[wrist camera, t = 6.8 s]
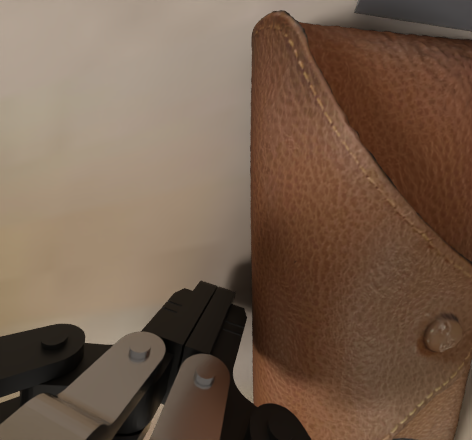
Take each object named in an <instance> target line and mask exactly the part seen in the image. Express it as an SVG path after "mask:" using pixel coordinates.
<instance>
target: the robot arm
mask: <svg viewBox="0 0 472 440" xmlns="http://www.w3.org/2000/svg"><path fill="white" fill-rule="evenodd" d="M234 297H235V292H234V291H231V290H228V289H225V288H222V287H218V286H216V285H213V284H210V283H206V282H203V281H200V282H199V284H198V285H197V286H196V288H195V289H194V290H193V291H191V290H188V289H185V288H184V289H182V290H180V291H178V292H176V293H174V294H173V295H172V296H171V298H170V299H169V300H168V302H166V303H165V304H164V306H163V307H162V308H161V309H160V310H159V311H158V313H157V314H156V315H155V316H154V317H153V318H152V319H151V321H150V322H149V323H148V324H147V325H146V326H145V327H144V329H143V330H142V331H141V332H134V333H130V334H128V335H126V336H124V337H122V338H121V339H120V340H118V341H117V342H116V343H115V344H114V345H103V344H91V343H85V334H84V332H83V330H82V329H81V328H79V327H77V326H75V325H71V324H55V325H50V326H46V327H41V328H37V329H33V330H28V331H24V332H19V333H15V334H10V335H6V336H2V337H0V397H3V396H6V395H9V394H12V393H15V392H18V391H20V396H19V397H16V398H14V399H11V400H8V401H5V402H2V403H0V440H143V438H144V437H145V435H146V433H147V432H148V430H149V428H150V425H151V420H152V418H153V417H154V415H155V413H156V411H157V409H158V407H159V405H160V404H164V407H163V409H162V412H161V414H160V416H159V419H158V421H157V424H156V426H155V428H154V431H153V433H152V435H151V437H150V439H149V440H312V439H311V438H310V436H309V435H308V433H307V431H306V430H305V428H304V427H303V425H302V424H301V422H300V421H299V419H298V418H297V417H296V416H295V415H294V414H293V413H292V412H291V411H290V410H288V409H287V408H285V407H283V406H281V405H278V404H274V403H266V404H262V405H260V406H259V407H257V406H255V405H254V404H253V403H251V402H250V401H249V400H248V399H246V398H245V397H244V396H243V395H242V394H241V393H240V391H239V390H238V388H237V387H236V385H235V382H234V379H233V367H234V364H235V360H236V356H237V353H238V349H239V345H240V342H241V338H242V334H243V331H244V327H245V323H246V319H247V316H246V313H245V310H244V308H242V307H239V306H236V305H233V300H234Z"/></svg>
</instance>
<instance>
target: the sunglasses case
mask: <svg viewBox="0 0 472 440" xmlns="http://www.w3.org/2000/svg"><path fill="white" fill-rule="evenodd" d="M251 83H252V88H251V146H250V151H251V161H250V162H251V168H250V173H251V253H252V255H251V261H252V336H253V396H254V398H253V400H254V405H255V406H257V407H259V406H260V405H262V404H266V403H274V404H278V405H281V406H283V407H285V408H287V409H288V410H290V411H291V412H292V413H293V414H294V415H295V416H296V417H297V418H298V419H299V421H300V422H301V424H302V425H303V427H304V428H305V430H306V431H307V433H308V435H309V436H310V438H311V439H312V440H453V439H454V436H455V432H456V428H457V426H458V421H459V414H460V410H461V407H462V401H463V398H464V394H465V386H466V382H467V377H468V373H469V370H470V362H471V360H472V40H469V39H464V40H460V39H448V38H445V37H430V36H426V35H422V36H417V35H414V34H408V35H405V34H400V33H392V32H389V31H384V32H378V31H374V30H369V31H368V30H360V29H356V28H351V27H350V28H346V27H340V26H321V25H318V24H317V25H313V24H308V23H301V22H298V21H296V20H295V19H294V18H293V17H292V16H290V14H289V13H287V12H286V11H282V10H281V11H273V12H272V13H270V14H268V15H266V16H265V17H263V18H262V19H261V20H260V21H259V22H258V23H257V24H256V26H255V27H254V29H253V32H252V78H251Z"/></svg>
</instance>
